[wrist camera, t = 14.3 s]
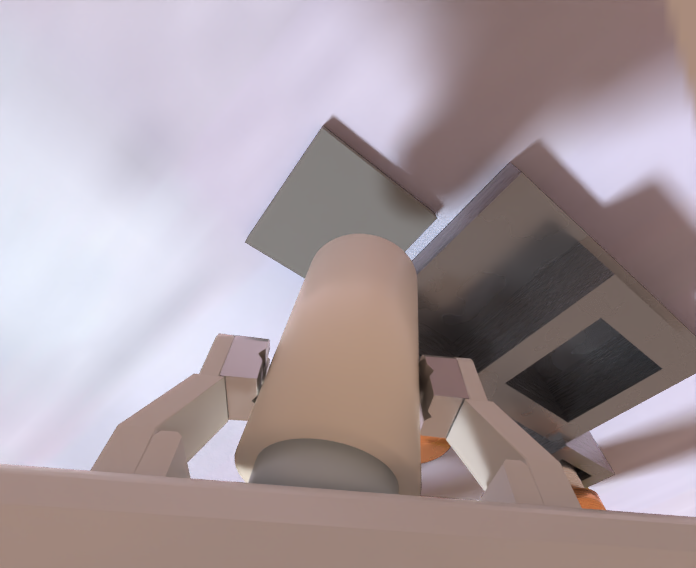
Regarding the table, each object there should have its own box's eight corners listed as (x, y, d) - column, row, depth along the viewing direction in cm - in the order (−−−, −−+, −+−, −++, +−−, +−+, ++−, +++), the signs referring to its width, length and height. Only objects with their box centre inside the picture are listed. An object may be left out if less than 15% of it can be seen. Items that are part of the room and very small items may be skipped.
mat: (247, 237, 20) (245, 242, 19) (322, 125, 17) (322, 128, 16) (351, 300, 22) (351, 306, 22) (434, 213, 19) (437, 218, 19)
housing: (326, 347, 24) (322, 411, 20) (509, 162, 18) (559, 202, 13) (513, 448, 31) (539, 512, 27) (699, 341, 24) (772, 405, 20)
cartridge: (312, 317, 17) (225, 583, 9) (305, 229, 14) (174, 498, 6) (411, 326, 16) (410, 616, 8) (423, 237, 14) (439, 539, 6)
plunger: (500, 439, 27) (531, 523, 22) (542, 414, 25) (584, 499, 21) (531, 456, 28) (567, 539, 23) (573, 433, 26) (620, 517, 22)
